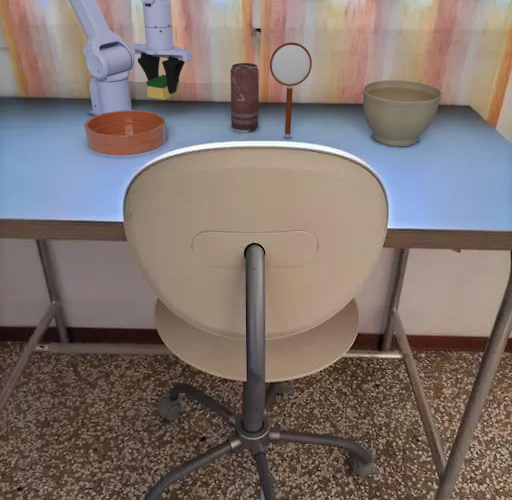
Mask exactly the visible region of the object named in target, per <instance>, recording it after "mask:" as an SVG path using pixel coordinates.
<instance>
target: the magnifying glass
mask: <svg viewBox="0 0 512 500" xmlns="http://www.w3.org/2000/svg"><path fill="white" fill-rule="evenodd" d="M312 66H313V61H312V56H311V54H310V52H309V51H308V49H307V48H306V47H305V46H304V45H302V44H300V43H298V42H286V43H283V44H281V45H280V46H278V47H277V48H276V49H275V50H274V51H273V53H272V55H271V56H270V61H269V70H270V73H271V75H272V77H273V79H274V80H275V82H277V83H279V84H280V85H282V86H286V99H285V123H284V124H285V125H284V134H285V137H286V138H287V139H288V138H290V134H291V129H292V109H293V108H292V107H293V90H294V89H293V86H298V85H300V84H302V83H303V82H304V81H306V79H307V78H308V77H309V75H310V74H311V71H312V68H313V67H312Z"/></svg>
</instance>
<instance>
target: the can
mask: <svg viewBox="0 0 512 500" xmlns="http://www.w3.org/2000/svg"><path fill="white" fill-rule="evenodd" d="M231 66H232V67H231V68H230V118H231V119H230V121H231V123H230V124H231V125H230V126H231V128H233V129H234V130H237V131H247V133H251V132H254V131H256V130H257V129H258V128H259V95H260V94H259V90H260V86H259V85H260V83H259V82H260V69H259V67H258V65H257V64H254V63H251V62H250V63H249V62H240V63H239V62H238V63H234V64H232V65H231Z"/></svg>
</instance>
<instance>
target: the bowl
mask: <svg viewBox="0 0 512 500" xmlns="http://www.w3.org/2000/svg"><path fill="white" fill-rule="evenodd" d="M83 127H84V134H85V139H86V144H87V146H88V148H89V149H90V150H92V151H94V152H96V153H99V154H105V155H110V156H111V155H112V156H130V155H137V154H143V153H146V152H151V151H154V150H155V149H159V148H160V147H161V146H163V145H164V144H166V143H165V142H166V141H167V131H166V119H165V118H164V117H163V116H162V115H160V114H158V113H155V112H153V111H146V110H137V109H133V110H123V111H113V112H108V113H103V114H100V115H97V114H96V115H94V116H92V117H90V118H89V119H88V120H86V121H85V122H84V126H83Z"/></svg>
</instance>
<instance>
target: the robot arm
mask: <svg viewBox="0 0 512 500" xmlns="http://www.w3.org/2000/svg"><path fill="white" fill-rule="evenodd" d="M68 1H69V4H70V6H71V9H72V10H73V12H74V14H75V16H76V18H77V21H78V23H79V25H80V26H81V28H82V31H83V33H84V35H85V37H86V39H87V40H86V42H85V44H84V46H83V49H82V53H83V55H84V57H85V63H86V66H87V69H88V72H89V74H90V75H91V76H92V77H91V79H90V81H89V85H88V86H89V87H88V88H89V95H90V101H91V108H92V110H90V112H89V113H90V114H94V115H96V116H97V115H100V114H103V113H108V112H113V111H123V110H134V109H133V106H132V99H131V89H130V81H129V80H130V79H129V76H131V71H132V70H133V68H134V64H135V58H134V55H140V57H138V58H137V63H138V64H139V66H140V68H142V70H143V72H144V74H145V77H146V79H147V81H149V80H151V79H154V78H156V77H159V76H160V75H159V74H160V60H161V58H163V59H166V60H163V61H162V62H161V64H162V67H163V70H164V73H165V75H166V78H167V87H168V91H169V93H170V94H172V93H174V92H176V90H177V84H178V79H179V80H180V76H181V72H182V69H183V67H184V65H185V63H187V62H190V61H192V60H193V58H192V50H190V49H184V48H182V47H179V46H178V47H177V46H174V31H173V30H174V29H173V16H172V1H171V0H141V4H142V12H143V13H142V14H143V25H144V34H145V35H144V36H145V43H137V42H134V43H131V44H130V45H129V46H130V48H129V47H128V46H127V44H126V43H125V42H124V40H123V37H122V36H120V35H119V34H117V33H115V32H114V31H112V30H111V29H110V27H109V25H108V23H107V21H106V19H105V16H104V14H103V12H102V10H101V8H100V6H99V4H98V1H97V0H68Z"/></svg>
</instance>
